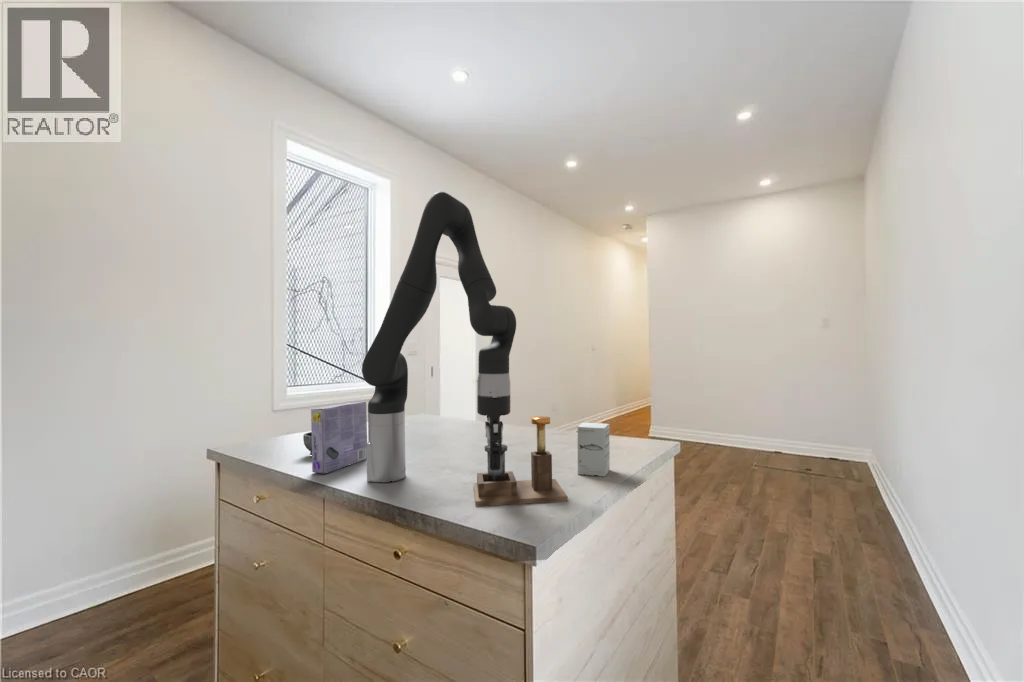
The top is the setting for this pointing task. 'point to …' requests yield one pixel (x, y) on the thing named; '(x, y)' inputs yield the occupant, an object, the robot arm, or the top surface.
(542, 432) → the lock pin
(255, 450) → the top surface
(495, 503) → the dock mount
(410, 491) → the top surface
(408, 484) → the top surface
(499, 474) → the spigot
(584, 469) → the supplement box
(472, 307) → the robot arm
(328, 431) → the cake pan box
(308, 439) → the mortar and pestle
